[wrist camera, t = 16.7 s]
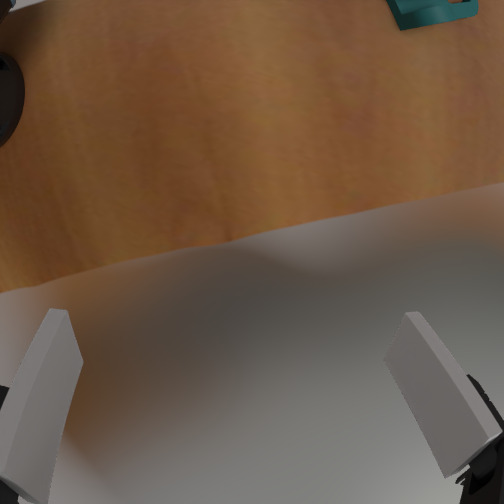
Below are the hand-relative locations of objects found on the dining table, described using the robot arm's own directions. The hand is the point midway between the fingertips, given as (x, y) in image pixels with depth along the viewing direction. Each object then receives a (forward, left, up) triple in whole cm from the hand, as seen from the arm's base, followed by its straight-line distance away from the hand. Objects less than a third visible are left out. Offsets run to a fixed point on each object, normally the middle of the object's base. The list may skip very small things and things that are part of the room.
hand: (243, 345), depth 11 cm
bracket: (+28, +30, -32) cm, 52 cm away
